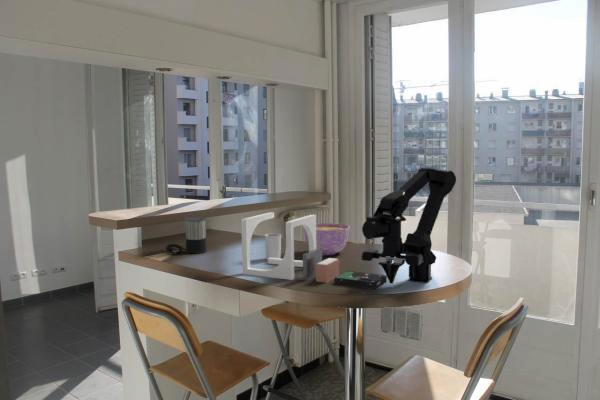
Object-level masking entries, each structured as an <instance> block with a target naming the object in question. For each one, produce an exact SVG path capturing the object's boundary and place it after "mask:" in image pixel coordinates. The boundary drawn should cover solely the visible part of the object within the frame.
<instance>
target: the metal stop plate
mask: <svg viewBox="0 0 600 400" xmlns="http://www.w3.org/2000/svg"><path fill="white" fill-rule="evenodd" d="M302 261H303V267H302V274H301V275H299V276H297V280H298V281H305V282H308V281H310V280H312V279H314V278H316V264H317V263H319V262H322V261H323V255H322V248H317V249H315V250H313V251H310V252H309V251H308V252H306V253H303V254H302Z"/></svg>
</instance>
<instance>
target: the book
mask: <svg viewBox="0 0 600 400" xmlns="http://www.w3.org/2000/svg"><path fill="white" fill-rule="evenodd" d="M338 275H340V259H338V258H333V257H328V258H326V259H324V260H322V262H319V263H317V264H316V277H315V281H316V282H318V283H325V284H327V283H329V282H331V281H334V279H335V277H337V276H338Z"/></svg>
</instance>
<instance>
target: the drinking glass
mask: <svg viewBox="0 0 600 400" xmlns="http://www.w3.org/2000/svg"><path fill="white" fill-rule="evenodd" d="M264 242H265V245H264V246H265V258H266V260H267V261H268V258H280V259H281V252H282V251H281V250H282V249H281V247H282V234H281V233H265V234H264Z"/></svg>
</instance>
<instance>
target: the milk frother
mask: <svg viewBox="0 0 600 400" xmlns="http://www.w3.org/2000/svg"><path fill="white" fill-rule="evenodd" d="M206 219H207V218H206V217H201V216H200V217H199V216H198V217H197V216H193V217H186V218H184V221H185V222H184V223H185V226H184V227H185V248H184V247H183V246H181V245H179V244H176V243H169V244H168V245H166V247H165V251H166V253H169V254H170V253H172V254H171V255H173V254H174V255H176V254H181V253H182V252H183V250H184V251H185V253H186V254H190V253H198V254H203V252H204V253H206V251H208V250H207V242H206V241H207V231H206V228H207V227H206ZM176 248H177V249H178V250H176Z"/></svg>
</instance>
